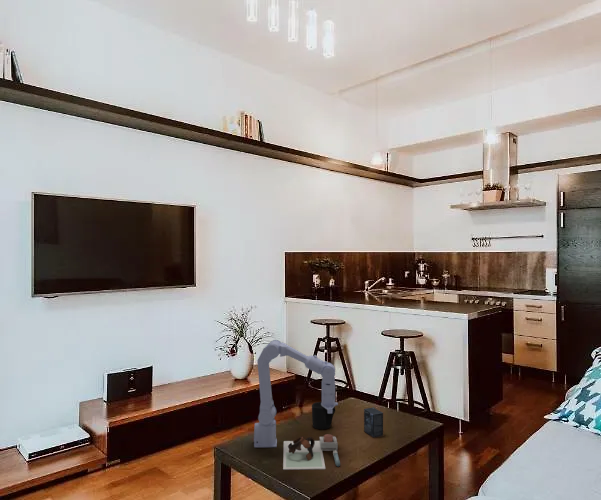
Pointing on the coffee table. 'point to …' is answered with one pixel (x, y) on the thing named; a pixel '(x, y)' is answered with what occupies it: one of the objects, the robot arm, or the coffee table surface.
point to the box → (373, 422)
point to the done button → (328, 438)
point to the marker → (336, 458)
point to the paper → (303, 458)
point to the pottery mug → (305, 443)
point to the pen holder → (318, 416)
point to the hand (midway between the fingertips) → (328, 425)
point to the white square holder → (328, 444)
